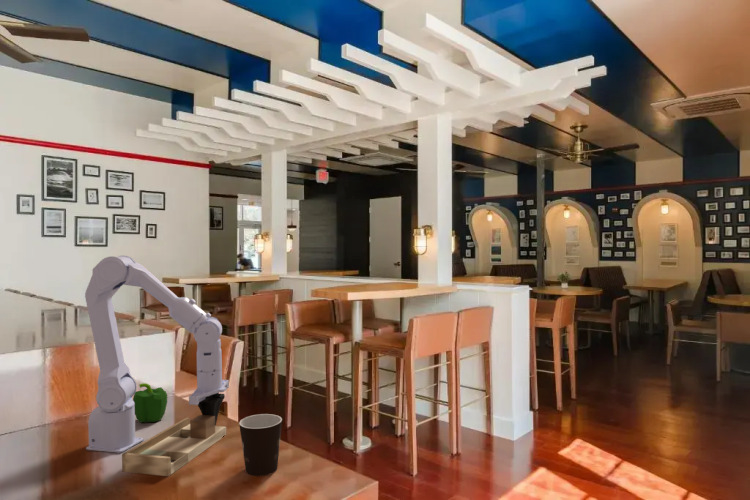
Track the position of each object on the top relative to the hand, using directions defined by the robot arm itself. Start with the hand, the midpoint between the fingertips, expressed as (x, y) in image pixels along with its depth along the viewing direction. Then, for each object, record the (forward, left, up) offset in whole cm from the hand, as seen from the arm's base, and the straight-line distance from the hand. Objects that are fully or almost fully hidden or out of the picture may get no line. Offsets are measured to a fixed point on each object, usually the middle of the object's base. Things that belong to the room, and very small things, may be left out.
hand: (210, 425), depth 124 cm
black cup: (+19, -12, -3) cm, 23 cm away
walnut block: (0, -3, -1) cm, 4 cm away
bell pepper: (-23, +9, -3) cm, 25 cm away
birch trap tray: (-3, -8, -3) cm, 9 cm away
